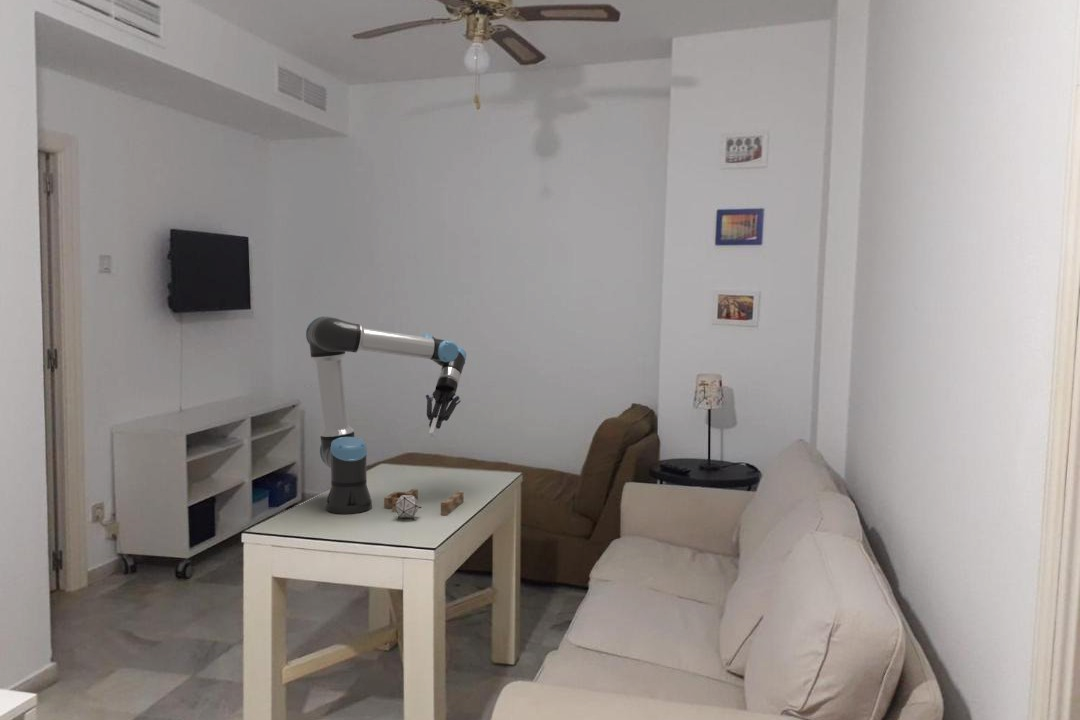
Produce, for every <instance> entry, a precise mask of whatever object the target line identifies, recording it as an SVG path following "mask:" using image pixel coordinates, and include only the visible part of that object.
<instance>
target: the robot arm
mask: <svg viewBox="0 0 1080 720" xmlns="http://www.w3.org/2000/svg"><path fill="white" fill-rule="evenodd" d="M305 339H306V342H307V343H308V345H309V351H310V353H309V354H310V358H311V359H313V360H314V362H316V363H315V364H316V365H315V366H316V372H317V373H316V374H317V380H318V389H319V397H320V399H319V400H320V404H321V405H320V406H321V415H322V423H323V429H322V431H321V432H320V434H319V436H320V447H319V455H320V458H321V461H322V463H324V465H325V466H327V467H328V468H330V473H331V474H330V479H331V481H330V490H329V493H328V496H327V500H326V503H325V510H326V511H327V512H329V513H332V514H341V515H349V514H350V515H351V514H357V513H363V512H368V511H370V510H371V509H372V508H373V501H372V500H373V499H372V498H371V494H370V491H369V489H368V485H367V483H368V482H367V479H368V478H367V453H368V449H367V444H366V442H365V440H363V439H362V438H359V437H356V436H355V430H354V428H352V426H350V424H349V422H350V421H349V416H348V415H349V414H348V406H347V397H346V389H345V388H346V387H345V379H344V370H343V361H342V359H343V357H344V356H346V353H358V352H359V351H363V352H370V353H379V354H387V355H394V356H401V357H410V358H418V359H424V360H431V361H433V362H434V363H436V364H437V365H439V366H441V369H440V373H439V376H438V380H437V382H436V385H435V389H434V391H433V392H432V394H430V395H429V394H426V395H425V398H426V417H427V419H428V421H429V424H428V426H429V431H428V434H429V436H430V438H436V435H437V432H438V430H439V429H440V428H441V426H442V424H443V421H445V422H448V421H449V419H450V417H451V416H452V414H453V412H454V411H455V409H456V407H457V406H458V405H459V404H460V403H461V399H460V396H459V395H457V393H456V392H457V390H458V386H459V382H460V379H461V375H462V372H463V370H464V366H465V364H466V358H467V352H466V350H465V349H464V348H463V347H461V346H458V345H457V343H455V342H454V341H453V340H450V339H449V340H448V339H440V338H436V337H434V335H431V334H430V333H423V335H421V336H420V335H412V334H406V333H400V332H399V333H398V332H394V331H393V332H392V331H386V330H379V329H372V328H365V327H363V326H362V325H361V324H360V323H352V322H350V321H346V320H343V319H339V318H337V317H332V316H331V317H330V316H319V317H317V318H314V319H313V320H312V321H310V323H309V324H307V327H306V330H305ZM433 400H434V401H435V402H434V405H433Z"/></svg>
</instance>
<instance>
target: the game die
mask: <svg viewBox="0 0 1080 720" xmlns="http://www.w3.org/2000/svg"><path fill="white" fill-rule="evenodd" d="M400 495H401V496H400V498H399V499H398V501H397V502H396V504H395V505H394V504H393V506H395V508H396V510H397V512H396V513H397V515H398V516H397V520H399V519H401V518H408V519H410V518H411V519H412V520H413V519H414V520H415V518H414V516H415V515H416V513H417V512H418V510H419V509H422V507H421V506H420V505H419V503H418V501H417V500H418V499H417V500H416V498H415V496H416V494H414V495H402V493H400Z"/></svg>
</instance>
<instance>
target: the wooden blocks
mask: <svg viewBox="0 0 1080 720" xmlns="http://www.w3.org/2000/svg"><path fill="white" fill-rule="evenodd" d="M400 493H402V495H414V494H416V496H415V498H416V499H417V500H418V498H419V497H418V496H419V489H418V488H411V489H410V490H408V491H406V492H405V491H394V492H392V493H390V494H389V495H386V496H384V498H383V499H384V500H383V503H384V504H383V508H384V509H391V508H392V512H393V511H396V512H395V513H397V510H396V508H395V506H393V504H394V505H395V504H396V502H397V501H398V499H399V498H400V496H401V495H400ZM462 502H463V503H464V491H457V492H455V493H454V494H453V495H452V496H450V497H449V498H448V499H446V500H444V501H441V502H440V515H441V516H448V515H449V514H450V513H451V512H453V511H454V510H455V509H456V508H457V506H458V505H459V506H460V505H462V504H463V503H462ZM459 506H458V507H459ZM452 510H453V511H452ZM448 513H449V514H448ZM447 514H448V515H447Z"/></svg>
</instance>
